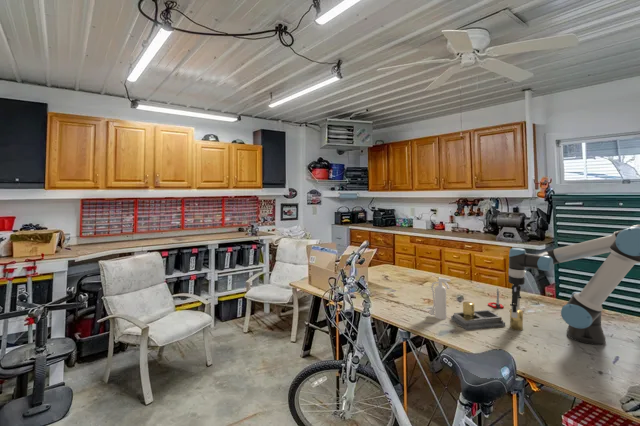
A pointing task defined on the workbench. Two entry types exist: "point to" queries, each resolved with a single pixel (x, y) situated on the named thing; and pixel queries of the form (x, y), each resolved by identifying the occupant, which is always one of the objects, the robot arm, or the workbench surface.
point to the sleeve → (517, 321)
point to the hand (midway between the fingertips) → (515, 313)
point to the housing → (476, 318)
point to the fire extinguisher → (439, 299)
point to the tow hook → (497, 302)
